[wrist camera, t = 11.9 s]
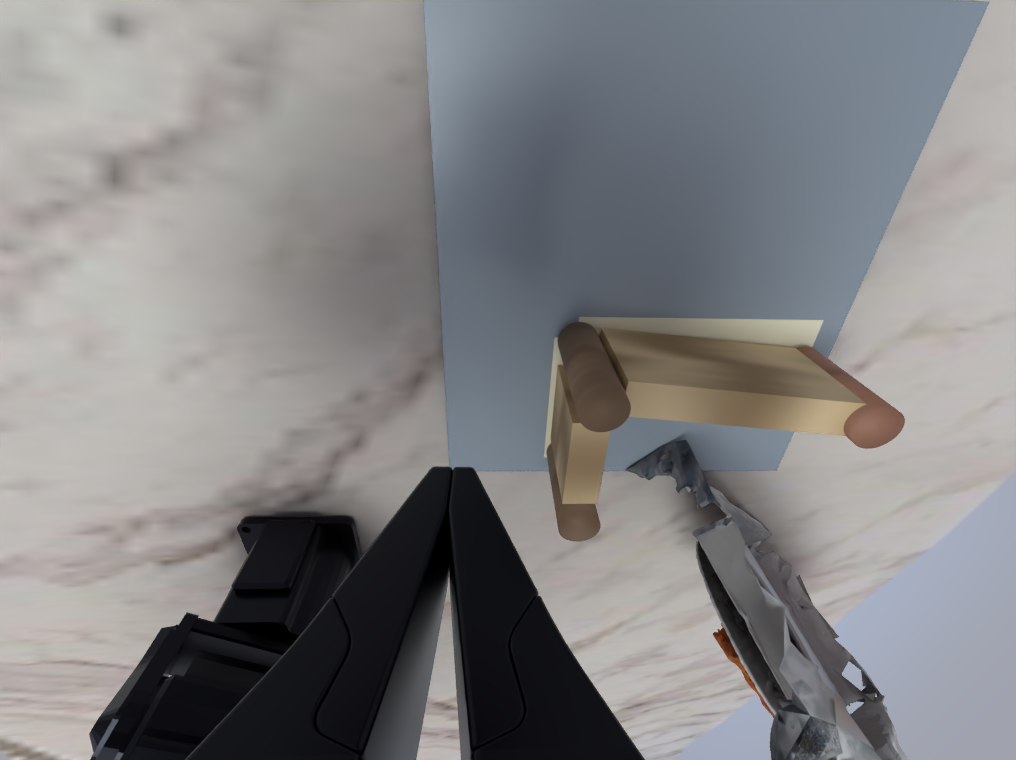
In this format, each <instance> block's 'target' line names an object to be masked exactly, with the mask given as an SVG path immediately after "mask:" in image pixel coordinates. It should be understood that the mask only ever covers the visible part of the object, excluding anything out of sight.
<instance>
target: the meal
mask: <svg viewBox="0 0 1016 760" xmlns="http://www.w3.org/2000/svg"><path fill="white" fill-rule="evenodd" d="M626 470H627V471H630V472H633V473H636V474H638V475H639V476H640V477H641V478H644V477H645V478H646V479H648V480H650V479H652V478H653V477H654V476H656V475H667V476H668V475H670V476H671V477H673V478H675V479H676V482H677V487H676V490H677V492H678V493H679V491H680V490H681V489H682V488H686V489H687V490H688V492H695V493H696V495H695V496H696V499H697V509H698V507H699V505H700V506H701V507H705V506H706V505H707V504H709V503H712V502H714V503H715V504H716V505H717V506H718V507H719V508H720V509H721V510H722V511H723V512H724V513H725V514H726V515H727V517H725V518H723V519H721V520H719V521H717V522H712V523H711V524H709V525H707V526H705V527H702V528H700V529H698V530H695V531H694V532H693V535H694V536H696V538H697V539H698V540H699V541H697V542H696V553H697V554H696V556H697V559H698V565H699V568H700V572H701V574H702V576H703V578H704V582H705V585H706V589H707V591H708V593H709V595H710V598H711V601H712V603H713V606H714V608H715V610H716V612H717V614H718V617H719V619H720V620H721V622H722V623H721V626H722V627H723V628H722V629H721V631H720V630H719V629H718V632H714V633H713V635H714V637H715V639H716V640H717V642H718V643H719V645H720V647H721V648H722V649H723V651H724V653H725V654H726V656H727V658H728V659H729V660H730V661H732V662H733V663H735V664H736V665H737V666H738V667H739V668H740V669H741V671H742V673H743V675H744V677H745V680H746V681H747V683H748V684H749V686H750V687H751V688H752V689H753V690H754V691H755V692H756V693H757V694H758V695H759V697H760V700H761V702H762V704H763V706H764V707H765V708H766V709H767V710H768V711H769V713H771V714H772V716H773V718H774V721H773V725H772V728H771V736H770V751H771V759H772V760H908V759H907V756H906V755H905V754H904V752H903V751H902V749H901V748H900V746H899V744H898V739H897V735H896V731H895V728H894V726H893V724H892V722H891V720H890V718H889V716H888V713H887V708H886V707H885V706H884V705H883V701H884V696H882V695H881V694H880V692H879V691H878V689H877V688H876V687H875V685H874V683H873V682H872V680H871V679H870V677H869V676H868V675H867V673H866V672H865V670H864V669H863V668H862V667H861V666H860V665H859V664H858V662H857V661H856V660H855V659H854V657H853V656H852V655H851V654H850V653H849V652H848V651H847V650H846V649H845V648H844V647H843V646H842V645H840V644H839V643H838V642H837V641H836V640H835V638H837V637H839V636H838V635H837V634H836V633H835V632H834V630H833V629H832V628H831V627H830V625H829V624H828V623H827V622H826V620H825V619H824V618H823V617H822V615H821V614H820V613H819V612H818V611H817V609H816V608H815V607H814V605H813V604H812V602H811V600H810V597H809V595H808V593H807V591H806V588H805V586H804V584H803V582H802V579H801V577H800V575H799V576H798V577H796V575H795V573H794V567H793V566H792V565H790V564H788V563H786V562H785V561H783V560H782V559H781V558H779V556H777V555H776V553H775V552H770V553H767V554H763V553H761V552H758V551H756V549H757V548H758V546H759V545H760V543H761V541H762V540H766V539H768V538H769V537H770V536H771V535H772V533H770V532H769V531H768V530H767V529H766V528H765V527H764V526H763V525H762V524H761V523H760V522H759V521H757V520H755V519H754V518H752V517H751V516H749V515H748V514H747V513H746V512H744V511H743V510H741V509H739V508H738V507H736V506H734V505H733V504H731V503H730V502H729V501H728V500H727V499H726V498H725V496H724V495H723V494H722V492H721V491H719V490H717V489H715V488H713V487H711V486H709V485H708V483H707V481H706V479H705V477H704V474H703V472H702V470H701V468H700V466H699V464H698V462H697V460H696V458H695V456H694V454H693V451H692V449H691V447H690V445H689V443H688V442H687V440H681V441H675V442H673V443H670V444H668V445H665V446H663V447H660V448H659V449H657V450H656V451H654V452H653V453H651V454H650V455H649V456H647V457H646V458H644V459H643V460H641V461H640V462H638V463H637V464H635V465H634V466H633V467H631V468H629V469H626ZM696 511H697V510H696ZM848 661H850V662H851V663H852V664H854V665H855V666H856V667H858V668H859V669H860V670H861V673H862V681H863V686H866V687H865V688H864V689H863V690H862V691H860V690H859V689H858V688H856V687H855V686H854V685H853V684H852V683H850V682H849V681H848V680H847V679H845V678H844V677H843V676H842V672H843V670H844V668H845V667H846V665H847V663H848ZM875 694H877V697H875ZM856 701H860V702H864V704H863V705H862V706H861V707H859V708H858V709H857V710H856V711H854V712H853V713H852V714H849V713H848V711H847V709H846V706H847V705H849V706H850V703H853V702H856Z"/></svg>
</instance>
